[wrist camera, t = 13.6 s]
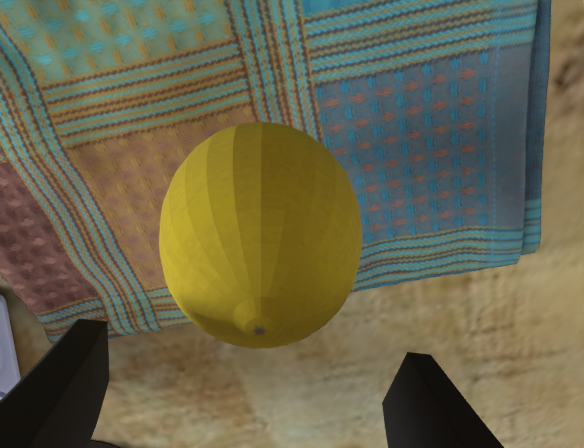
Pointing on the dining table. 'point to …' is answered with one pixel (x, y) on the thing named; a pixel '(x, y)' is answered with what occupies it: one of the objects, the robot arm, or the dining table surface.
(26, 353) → the dining table surface
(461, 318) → the dining table surface
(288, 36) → the dish towel
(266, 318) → the lemon
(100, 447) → the slate coaster
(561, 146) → the dining table surface
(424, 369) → the robot arm
